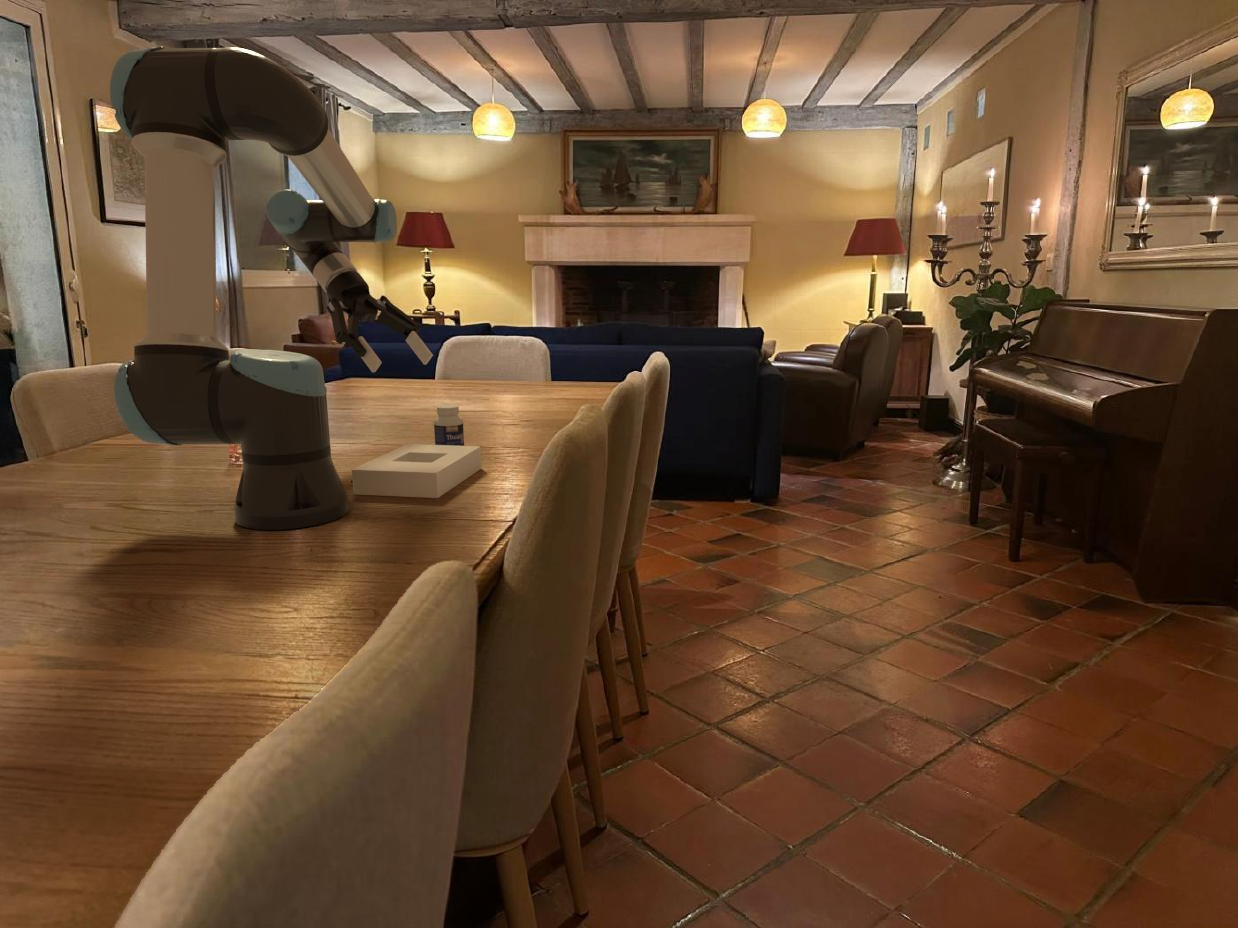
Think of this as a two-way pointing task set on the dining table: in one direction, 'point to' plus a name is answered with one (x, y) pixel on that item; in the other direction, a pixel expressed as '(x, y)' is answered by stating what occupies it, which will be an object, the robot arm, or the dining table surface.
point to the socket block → (417, 471)
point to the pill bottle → (448, 426)
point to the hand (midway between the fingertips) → (403, 363)
